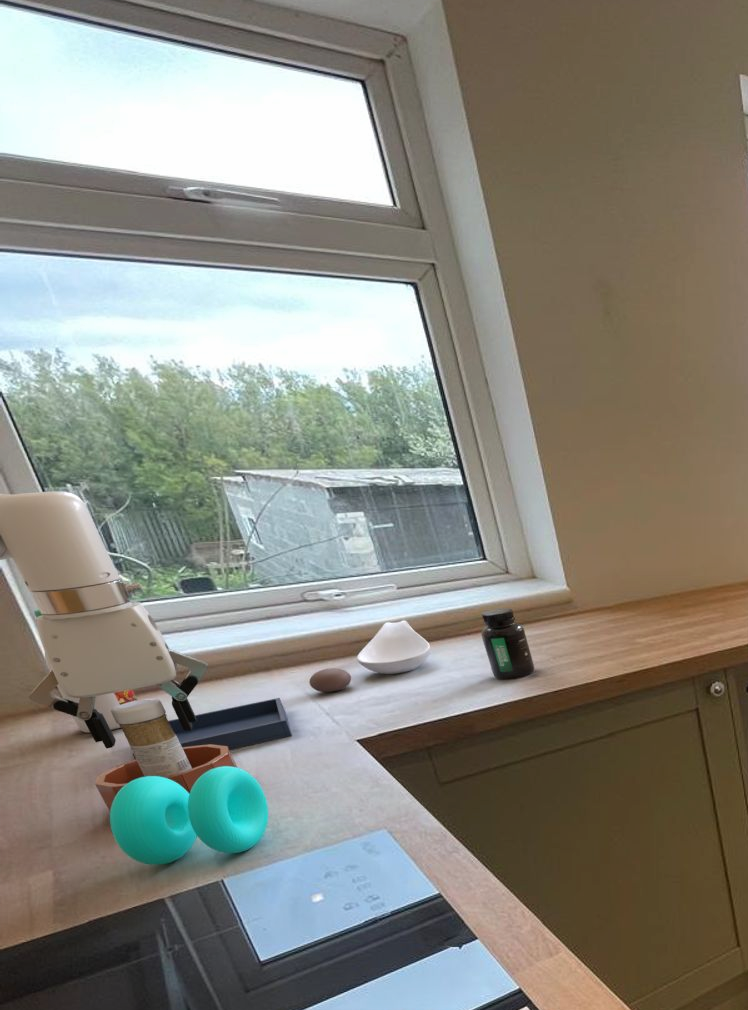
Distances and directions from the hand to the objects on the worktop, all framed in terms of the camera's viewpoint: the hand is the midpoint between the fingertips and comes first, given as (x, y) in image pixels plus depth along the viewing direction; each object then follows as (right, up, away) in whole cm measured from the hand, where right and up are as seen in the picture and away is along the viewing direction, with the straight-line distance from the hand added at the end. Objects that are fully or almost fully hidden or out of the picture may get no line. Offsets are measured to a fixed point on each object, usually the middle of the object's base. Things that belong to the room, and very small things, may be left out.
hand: (150, 735), depth 104 cm
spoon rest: (-11, +14, +58) cm, 61 cm away
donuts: (+18, -14, -10) cm, 25 cm away
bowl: (0, -8, +4) cm, 9 cm away
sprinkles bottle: (0, -9, +4) cm, 9 cm away
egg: (-12, +8, +43) cm, 46 cm away
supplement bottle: (+18, +11, +48) cm, 53 cm away
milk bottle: (-39, +2, +31) cm, 50 cm away
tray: (-14, -1, +23) cm, 27 cm away
